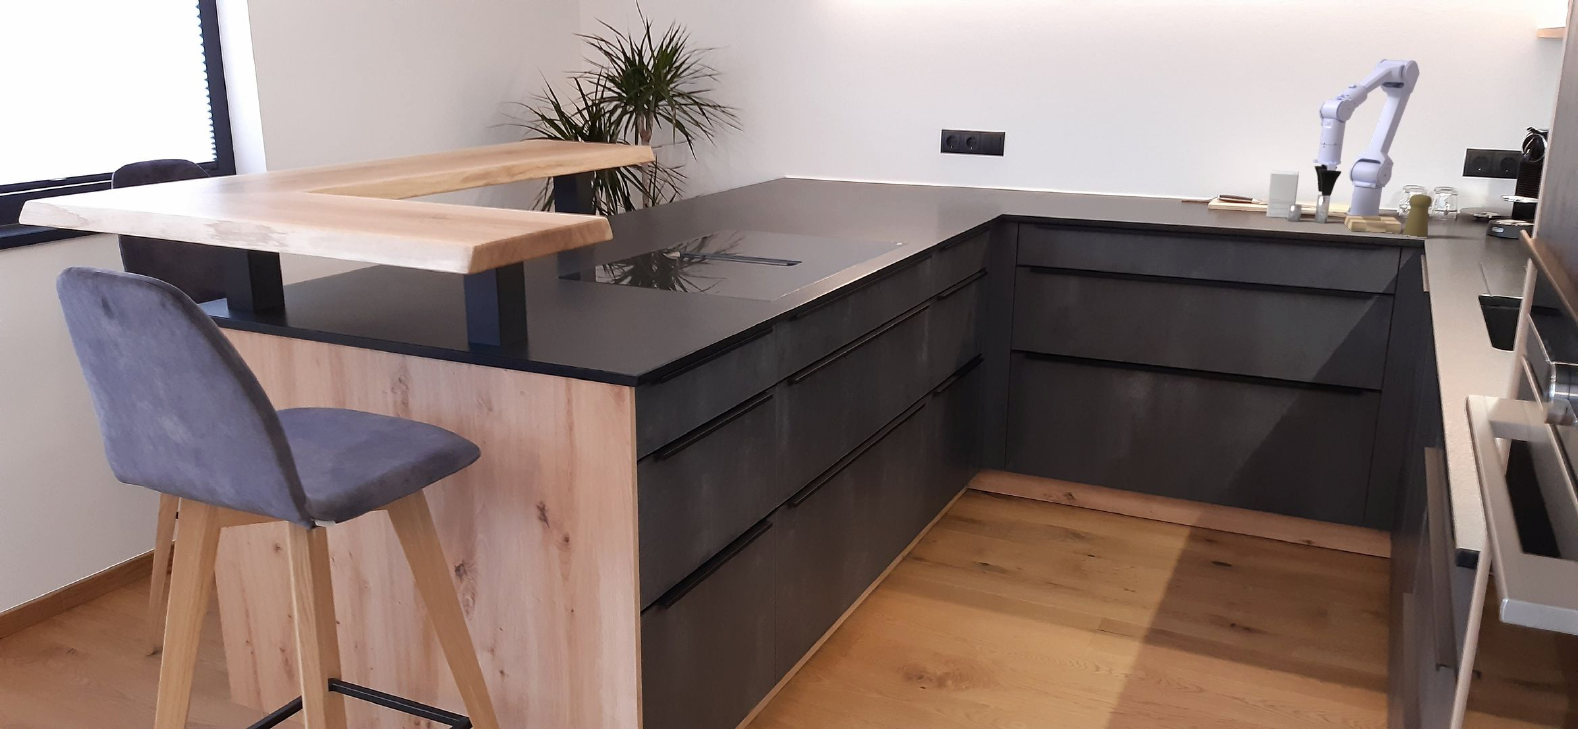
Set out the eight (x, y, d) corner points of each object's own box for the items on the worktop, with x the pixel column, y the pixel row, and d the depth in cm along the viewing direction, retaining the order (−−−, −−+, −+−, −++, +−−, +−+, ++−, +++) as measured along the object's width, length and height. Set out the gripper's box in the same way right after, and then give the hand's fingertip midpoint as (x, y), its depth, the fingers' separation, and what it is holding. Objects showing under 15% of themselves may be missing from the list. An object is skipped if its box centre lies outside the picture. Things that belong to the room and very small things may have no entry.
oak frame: (1344, 223, 326) (1345, 214, 325) (1391, 226, 322) (1393, 216, 322) (1350, 231, 315) (1352, 221, 314) (1400, 233, 311) (1401, 224, 311)
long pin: (1313, 221, 330) (1317, 194, 328) (1326, 221, 329) (1329, 194, 327) (1315, 222, 327) (1318, 196, 325) (1327, 223, 326) (1331, 196, 324)
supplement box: (1294, 214, 340) (1300, 171, 337) (1293, 218, 334) (1298, 174, 330) (1267, 213, 343) (1272, 169, 339) (1265, 216, 337) (1270, 172, 333)
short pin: (1287, 219, 332) (1289, 203, 331) (1299, 220, 331) (1301, 204, 330) (1288, 221, 329) (1290, 205, 328) (1300, 222, 328) (1302, 206, 327)
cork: (1422, 234, 310) (1428, 193, 307) (1431, 239, 305) (1438, 196, 302) (1398, 234, 311) (1404, 192, 308) (1407, 238, 305) (1414, 196, 302)
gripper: (1312, 140, 330) (1305, 189, 334) (1318, 146, 316) (1312, 196, 320) (1339, 141, 328) (1332, 190, 332) (1347, 147, 315) (1340, 197, 318)
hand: (1324, 193), depth 326 cm, fingers open, 7 cm apart
